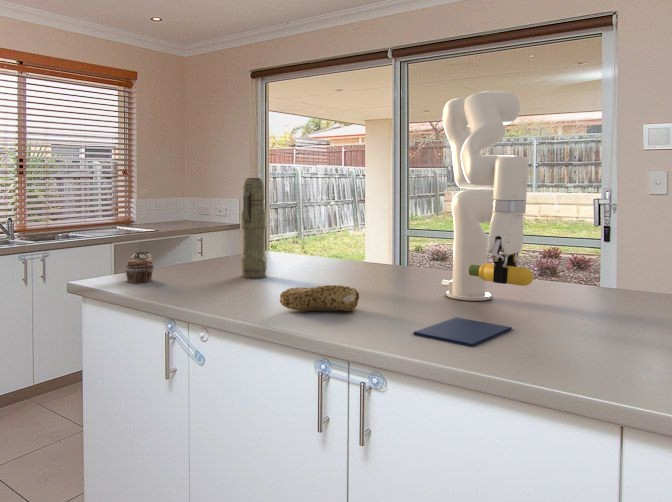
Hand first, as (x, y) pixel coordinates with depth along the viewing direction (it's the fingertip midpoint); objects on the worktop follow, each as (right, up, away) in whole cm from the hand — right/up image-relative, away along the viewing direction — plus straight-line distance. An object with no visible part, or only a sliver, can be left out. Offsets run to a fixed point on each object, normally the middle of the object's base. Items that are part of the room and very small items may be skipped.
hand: (504, 280), depth 147 cm
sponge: (-45, -9, +12) cm, 47 cm away
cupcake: (-102, -3, +57) cm, 117 cm away
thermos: (-64, -2, +67) cm, 92 cm away
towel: (-13, -11, -10) cm, 20 cm away
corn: (-1, 0, +1) cm, 1 cm away
